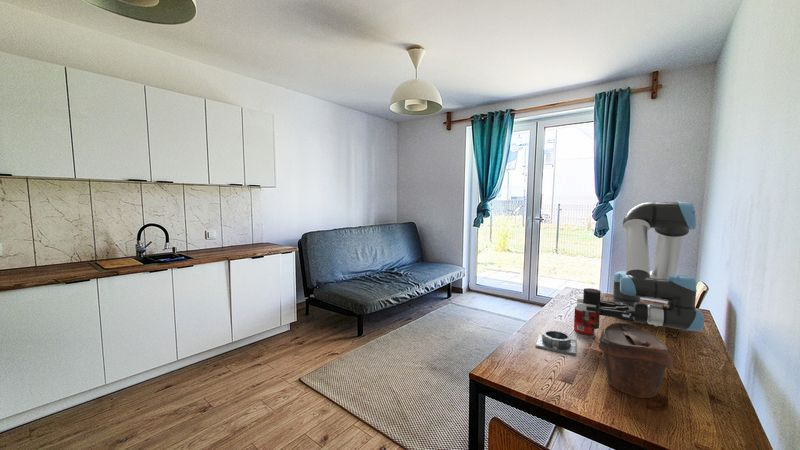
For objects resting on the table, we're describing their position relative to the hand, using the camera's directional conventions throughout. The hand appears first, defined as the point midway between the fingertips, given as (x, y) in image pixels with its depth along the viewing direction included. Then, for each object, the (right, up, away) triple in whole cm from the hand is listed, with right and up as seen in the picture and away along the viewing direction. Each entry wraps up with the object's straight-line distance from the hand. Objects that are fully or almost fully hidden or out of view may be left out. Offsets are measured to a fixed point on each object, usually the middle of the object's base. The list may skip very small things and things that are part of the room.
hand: (577, 303), depth 129 cm
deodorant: (+5, -9, -2) cm, 10 cm away
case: (0, -19, -31) cm, 36 cm away
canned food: (+10, -16, +12) cm, 22 cm away
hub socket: (-9, -16, -1) cm, 19 cm away
